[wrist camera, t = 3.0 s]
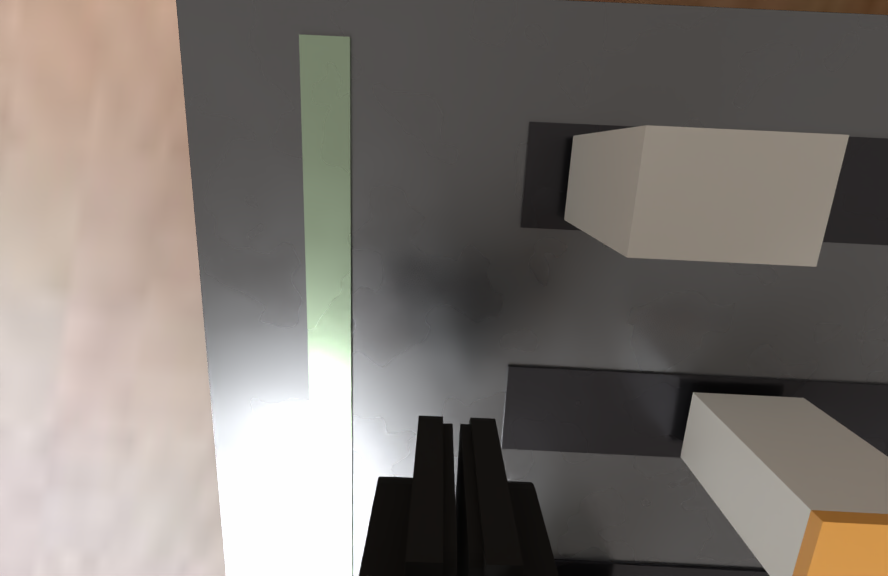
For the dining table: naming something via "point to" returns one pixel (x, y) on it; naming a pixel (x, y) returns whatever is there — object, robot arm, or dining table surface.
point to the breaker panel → (507, 261)
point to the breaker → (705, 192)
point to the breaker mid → (791, 483)
